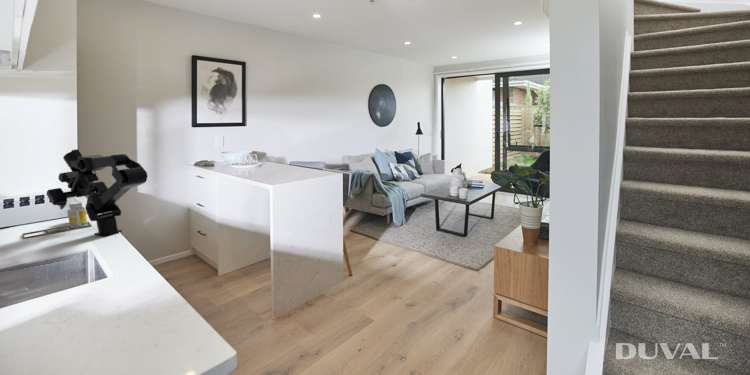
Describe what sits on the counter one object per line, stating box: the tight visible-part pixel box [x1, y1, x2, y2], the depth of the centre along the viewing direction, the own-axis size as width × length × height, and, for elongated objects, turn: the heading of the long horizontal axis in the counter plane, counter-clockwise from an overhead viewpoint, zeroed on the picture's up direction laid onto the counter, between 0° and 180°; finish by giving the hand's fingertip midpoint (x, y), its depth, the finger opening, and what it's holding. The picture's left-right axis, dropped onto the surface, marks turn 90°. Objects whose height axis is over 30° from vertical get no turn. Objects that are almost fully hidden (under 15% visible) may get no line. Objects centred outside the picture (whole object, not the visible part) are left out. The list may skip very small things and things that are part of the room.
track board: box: [22, 221, 93, 240], centre depth 143 cm, size 20×7×1 cm, turn 135°
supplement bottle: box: [67, 201, 88, 228], centre depth 147 cm, size 5×5×10 cm
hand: (74, 205), depth 146 cm, fingers open, 9 cm apart
